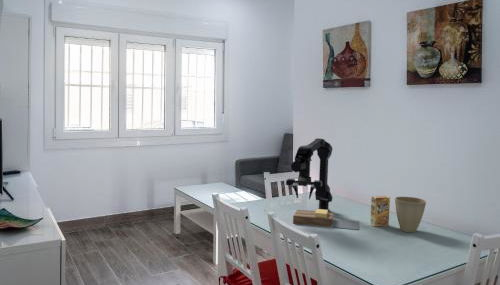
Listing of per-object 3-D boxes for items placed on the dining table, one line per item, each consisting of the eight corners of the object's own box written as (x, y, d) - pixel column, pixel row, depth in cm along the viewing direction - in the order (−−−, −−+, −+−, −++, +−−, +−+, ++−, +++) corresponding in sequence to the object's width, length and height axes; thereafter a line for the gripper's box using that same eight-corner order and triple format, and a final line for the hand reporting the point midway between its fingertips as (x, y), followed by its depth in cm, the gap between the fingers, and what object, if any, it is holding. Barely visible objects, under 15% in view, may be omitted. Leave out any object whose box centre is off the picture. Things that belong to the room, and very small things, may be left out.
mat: (334, 219, 233) (334, 218, 233) (358, 221, 230) (358, 221, 230) (332, 227, 218) (332, 226, 218) (358, 230, 215) (358, 229, 215)
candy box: (374, 227, 221) (375, 197, 220) (369, 224, 225) (371, 196, 224) (388, 225, 224) (390, 197, 223) (384, 223, 228) (385, 195, 227)
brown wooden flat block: (296, 216, 238) (297, 209, 237) (333, 220, 233) (333, 212, 232) (293, 223, 224) (293, 215, 224) (331, 227, 219) (331, 219, 219)
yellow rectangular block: (316, 212, 232) (316, 208, 232) (327, 213, 231) (327, 209, 230) (314, 216, 223) (314, 212, 223) (326, 217, 222) (326, 213, 222)
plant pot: (424, 236, 207) (426, 204, 206) (392, 232, 213) (394, 201, 211) (423, 228, 221) (425, 198, 220) (393, 224, 226) (395, 195, 225)
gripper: (284, 171, 222) (283, 200, 223) (320, 173, 217) (319, 203, 219) (288, 168, 233) (287, 196, 234) (322, 170, 228) (321, 198, 229)
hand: (303, 198), depth 229 cm, fingers open, 6 cm apart
